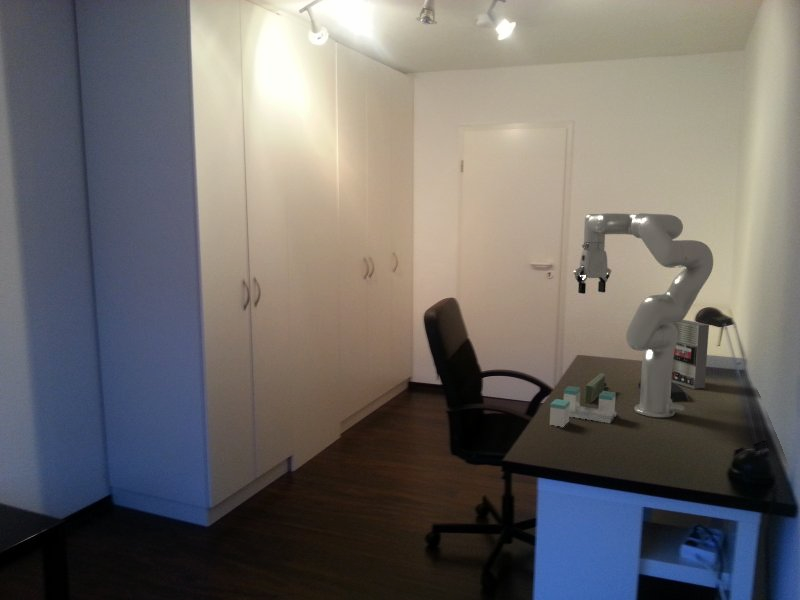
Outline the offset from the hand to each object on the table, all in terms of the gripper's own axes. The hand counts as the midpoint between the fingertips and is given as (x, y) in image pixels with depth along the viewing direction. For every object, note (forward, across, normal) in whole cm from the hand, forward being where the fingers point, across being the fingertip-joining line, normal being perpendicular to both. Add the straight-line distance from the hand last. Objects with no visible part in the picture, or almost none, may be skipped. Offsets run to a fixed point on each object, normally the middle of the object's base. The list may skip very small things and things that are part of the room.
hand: (591, 292), depth 241 cm
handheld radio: (+38, -2, -8) cm, 39 cm away
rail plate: (+37, -23, -26) cm, 51 cm away
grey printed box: (+38, +40, -11) cm, 56 cm away
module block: (+37, -37, -29) cm, 60 cm away
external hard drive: (+38, +21, -17) cm, 47 cm away
